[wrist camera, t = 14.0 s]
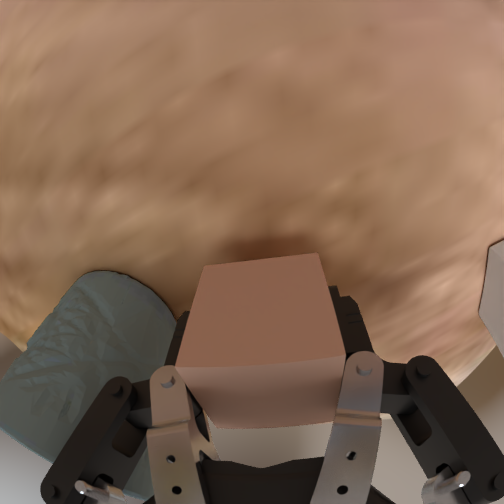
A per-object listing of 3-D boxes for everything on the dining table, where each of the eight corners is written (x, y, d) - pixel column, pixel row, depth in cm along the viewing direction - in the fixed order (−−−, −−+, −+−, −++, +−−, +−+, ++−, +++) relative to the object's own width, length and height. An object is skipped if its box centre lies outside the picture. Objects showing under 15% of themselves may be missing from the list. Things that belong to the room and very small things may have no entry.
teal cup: (55, 247, 15) (-49, 385, 5) (194, 276, 15) (127, 499, 5) (87, 342, 20) (37, 454, 10) (193, 371, 21) (164, 507, 11)
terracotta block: (228, 339, 14) (217, 428, 9) (203, 265, 11) (174, 367, 7) (318, 330, 13) (333, 421, 9) (317, 252, 11) (345, 354, 6)
